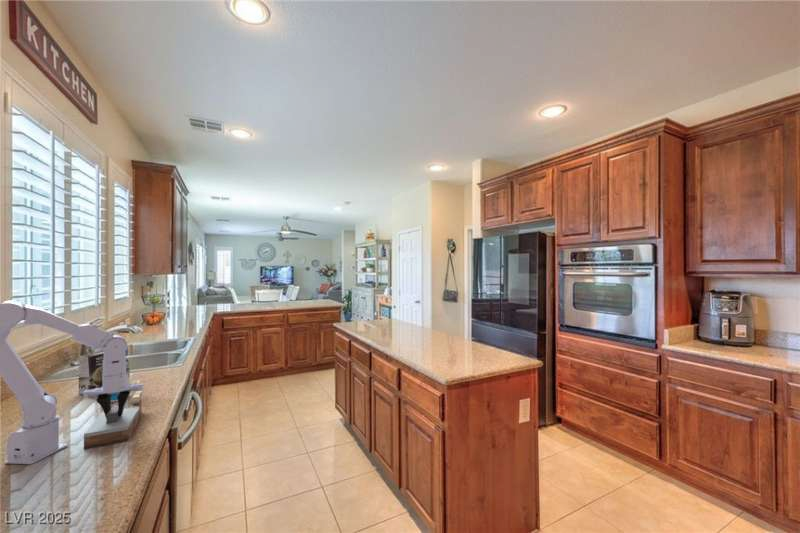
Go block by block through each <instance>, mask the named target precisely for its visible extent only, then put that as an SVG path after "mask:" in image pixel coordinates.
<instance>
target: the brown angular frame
mask: <svg viewBox="0 0 800 533" xmlns="http://www.w3.org/2000/svg"><path fill="white" fill-rule="evenodd" d="M142 403H143V400H142V399H141V400H140V402H139V403H138V404H132V403H131V405H130V407H129V408H134V407H140V410H139V412H138V413H137V415H136V417H135V418H134V420H133V422H132V423H131V425H130V426H129V428H128V430H123V431H117V432H111V433H106V434H100V435H95V436H89V437H84V436H83V450H87V449H92V448H98V447H99V448H100V447H104V446H109V445H114V444H118V443H125V442H128V441H129V439H130V437H131V435H132V434H133V433H134V431H135V429H136V428H137V425H138V424H139V422H140V421H141V415H142V412H143V411H142V410H143V409H142V408H143V404H142Z"/></svg>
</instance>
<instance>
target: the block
mask: <svg viewBox="0 0 800 533" xmlns="http://www.w3.org/2000/svg"><path fill="white" fill-rule="evenodd" d="M142 399H143V390H142V391H138V390H137V391H136V392H135V393H134V394H133V395H132V396H131V405H132V404H138V403H139V402H140V400H142Z"/></svg>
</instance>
